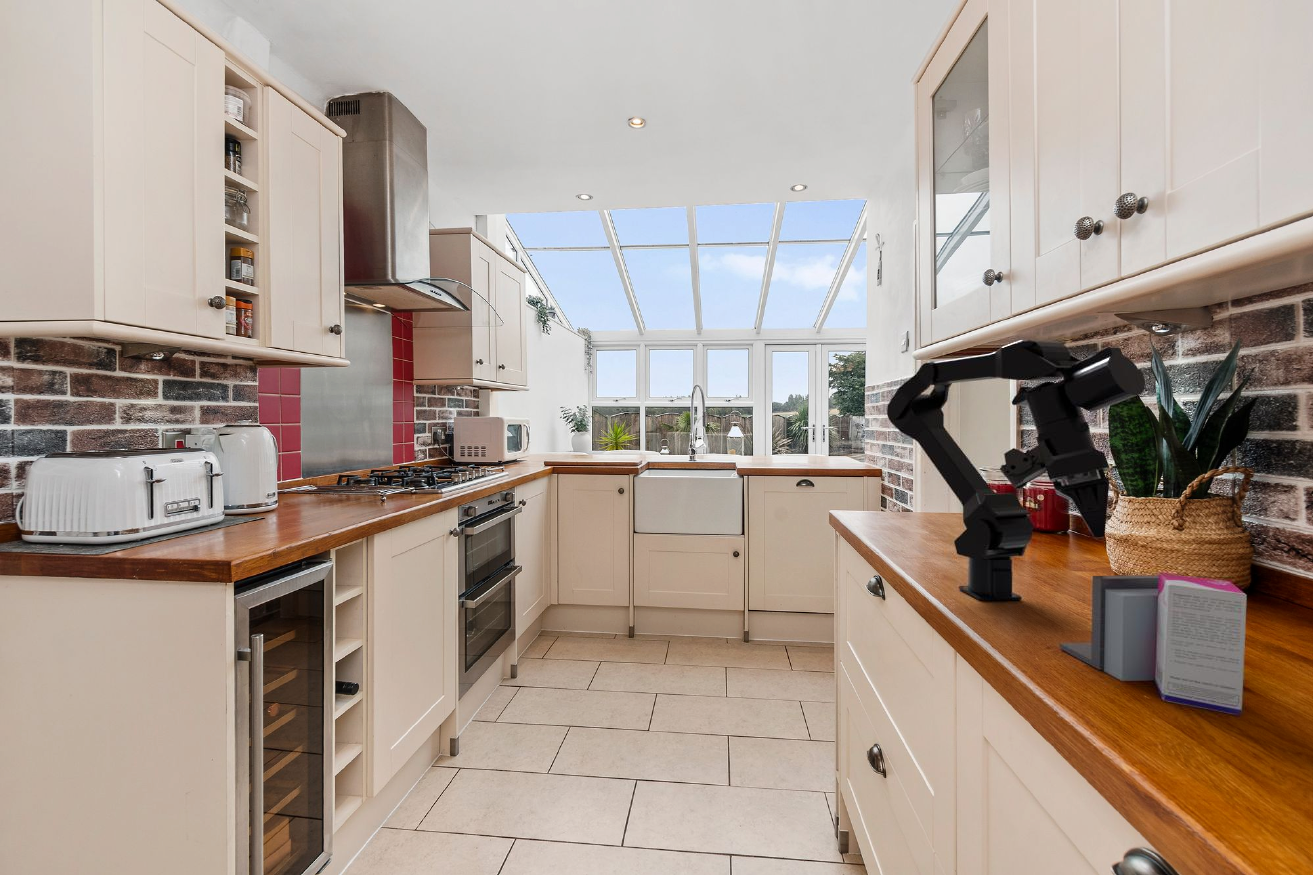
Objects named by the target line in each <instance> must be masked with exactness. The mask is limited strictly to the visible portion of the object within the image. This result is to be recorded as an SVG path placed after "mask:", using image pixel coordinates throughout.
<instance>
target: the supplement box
mask: <svg viewBox="0 0 1313 875" xmlns="http://www.w3.org/2000/svg"><path fill="white" fill-rule="evenodd" d="M1158 575H1159V581H1158V602H1157V626H1156V646H1155V671H1154V680H1153V681H1154V683H1155V685H1156V689H1157V690H1158V693H1159V695H1160V697H1161V699H1162V701H1164V702H1168V703H1174V704H1177V705H1178V704H1179V705H1184V706H1190V707H1195V708H1200V709H1204V710H1210V711H1215V712H1219V713H1225V714H1231V715H1236V716H1240V715H1242V709H1243V691H1244V668H1245V667H1244V666H1245V650H1246V649H1245V648H1246V647H1245V646H1246V644H1245V643H1246V621H1247V620H1246V618H1247V594H1246V593H1245V592H1244V591H1242V590H1241V589H1240V588H1239V587H1237V585H1235V584H1234V583H1233V582H1232V581H1229V580H1222V579H1214V578H1213V579H1212V578H1204V577H1196V576H1195V577H1194V576H1187V575H1181V574H1171V573H1163V572H1160V573H1159V574H1158Z"/></svg>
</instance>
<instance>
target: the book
mask: <svg viewBox="0 0 1313 875" xmlns="http://www.w3.org/2000/svg"><path fill="white" fill-rule="evenodd" d="M1157 602H1158V589H1105V646H1104V670H1103V672H1105V673H1107V674H1109V675H1110V676H1113V677H1114V678H1116V679H1118V680H1119V681H1121V682H1127V681H1128V682H1129V681H1131V682H1133V681H1138V682H1139V681H1154V671H1155V646H1156V626H1157Z"/></svg>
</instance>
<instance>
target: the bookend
mask: <svg viewBox="0 0 1313 875" xmlns="http://www.w3.org/2000/svg"><path fill="white" fill-rule="evenodd" d="M1158 581H1159V574H1144V575H1143V574H1142V575H1141V574H1140V575H1139V574H1138V575H1137V574H1135V575H1133V574H1129V575H1128V574H1127V575H1123V574H1122V575H1092V583H1091V584H1092V586H1091V587H1092V590H1091V592H1092V594H1091V595H1092V596H1091V597H1092V598H1091V600H1092V601H1091V602H1092V603H1091V604H1092V605H1091V642H1060V643H1059V645H1058V646H1059V649H1060V650H1062V651H1064V652H1065V653H1068V654H1070V656H1073V657H1075V658H1077V659H1079V660H1080V661H1082V662H1084V663H1086V664H1088V665H1089V666H1092V667H1093V668H1096V669H1097V670H1099V671H1104V646H1105V589H1158Z"/></svg>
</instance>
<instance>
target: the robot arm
mask: <svg viewBox="0 0 1313 875" xmlns="http://www.w3.org/2000/svg"><path fill="white" fill-rule="evenodd" d="M1062 378H1063V379H1062ZM993 379H1003V380H1011V381H1012V380H1013V381H1027V382H1028V381H1031V382H1032V381H1034V382H1036V381H1037V382H1042V383H1040V384H1038V385H1036V386H1020V387H1019V389H1018V391H1017V393H1016V394H1015V395H1014V397H1013V399H1012V401H1011V405H1012V406H1028V409H1029V412H1030V414H1031V417H1032V421H1033V423H1034V427H1035V430H1036V432H1037V436H1035V438H1036V441H1037V444H1038V445H1036V446H1035V447H1033V448H1031V449H1027V450H1025V452H1024V451H1021V450H1020V449H1017V448H1015V447H1014V448H1011V449H1009V450H1008V451H1006V452H1004V454H1003V456H1004V462H1005V464H1002V465H1000V468H999V471H1000V472H1001V473H1002V475H1003V476H1004V477H1005V478H1006V479H1007V480H1008V482H1009V483H1010V484H1011V485H1012V486H1013V488H1014V489H1015V490H1017V491H1018V490H1020V489H1023V488H1024V487H1026V486H1027V484H1028V483H1030V482H1031V481H1033V480H1035V479H1037V478H1038V477H1041V476H1042V475H1043V474H1046V473H1047V475H1048V479H1049V481H1050V482H1051V483H1052V485H1053V488H1054V490H1055V493H1056V495H1058V496H1060V497H1062V498H1064V499H1066V500H1068V501H1071V502H1072V503H1073V504H1074V506H1075V508H1076V509H1077V511H1078V513H1079V514H1080V516H1081V518H1082V519H1083V521H1084V522H1085V524H1086V526H1087V528H1088V530H1089V531H1090V533H1091V534H1092V536H1093V538H1094V539H1100V538H1101V539H1102V538H1105V537H1106V536H1105V535H1106V524H1107V513H1108V502H1109V492H1110V491H1109V488H1110V477H1109V476H1108V477H1107V475H1106V474H1105V472H1109V471H1110V469H1111V468H1110V465H1109V462H1108V459H1107V457H1106V454H1105V452H1103V451H1101V450H1100V449H1099V450H1098V449H1097V448H1096V445H1095V443H1094V442H1095V441H1094V439H1093V436H1092V434H1091V429H1090V426H1089V423H1088V421H1086V417H1085V415H1084V412H1083V410H1086V411H1088V412H1092V413H1093V412H1094V413H1095V412H1097V411H1099V410H1103V409H1105V408H1108V407H1111V406H1112V405H1116V404H1118V403H1121V402H1123V401H1126V400H1129V399H1131V398H1134V397H1137V396H1139V395H1141V394H1143V393H1144V390H1145V387H1146V380H1145V376H1144V373H1143V371H1142V370H1141V368H1140V369H1139V368H1138V366H1137V364H1135V363H1134V362H1133V360H1131V359H1130V358H1129V357H1128V356H1125V355H1124V354H1123V352H1122V349H1121V348H1120V347H1119V346H1118V347H1116V346H1106V347H1104V348H1102V349H1101V350H1099V351H1097V352H1096V353H1095V354H1093V355H1090V356H1088V357H1087V358H1085V359H1080V358H1079V357H1077V356H1075V355H1073V354H1071V352H1070V351H1069V348H1068V347H1067V346H1066V345H1065V344H1064V343H1063V342H1062V341H1057V340H1039V339H1020V340H1017V341H1014V342H1012V343H1010V344H1006V345H1004V346H1001V347H1000V348H999V349H997V350H996V351H994V352H991V353H985V354H981V355H972V356H965V357H960V358H952V359H946V360H940V361H927V362H925V363H922V365H921V366H920V367H919V369H918V370H917V371H916V373H915V374H914V375H913V376H912V377H911V378H909V379H907V381H906V382H905V381H904V383H903V384H901V385H900V386H899V387H898V389H897V390H896V391H895V393H894V395H893V396H892V398H891V399H890V401H889V403H888V405H887V407H886V415H887V418H888V420H889V422H890V423H891V424H892V425H893V426H894V427H895V428H896V429H897V431H899V432H900V433H902V434H904V435H905V436H907V437H909V438H910V439H913V440H914V441H916V443H918V445H919V446H920V447H921V449H922V450H923V451H924V453H925V454H926V455H927V457H928V459H930V462H931V464H933V466H934V467H935V469H936V470H937V472H938V473H939V474H940V475H941V477H942V478H943V480H944V481H945V483H946V484H947V485H948V486H949V488H950V489H951V491H952V493H953V494H954V495H955V496H956V498H957V499H958V501H959V502H960V503H961V505H962V520H963V524H964V526H965V528H966V529H965V530H964V531H963V532H962V533H960V535H959V536H958V537H957V538H956V539H954V541H953V542H954V546H955V551H956V554H957V555H959V556H962V557H966V558H968V579H967V580H968V581H967V582H968V585H959V586H958V589H959V590H960V591H962V592H964V593H966V594H968V595H970V596H972V597H973V598H975V599H977V600H980V601H1021V600H1022V599H1023V598H1022V595H1020V594H1018V593H1015V592H1013V576H1014V574H1013V572H1014V571H1013V559H1012V557H1023V556H1024V554H1025V552H1026V549H1027V546H1028V544H1029V543H1030V542H1031V541H1032V540H1031V539H1032V537H1033V529H1034V528H1035V526H1034V523H1033V521H1032V519H1031V518H1030V517H1029V516H1030V515H1031V512H1030V511H1029V510H1027V509H1026V508H1025V507H1024V506H1023V505H1022V504H1021V502H1020V500H1019V499H1018V497H1017V496H1016V495H1015V494H1014V493H1013V492H1007V493H1006V492H1005V493H997V492H995V491H994V490H993V489H992V487H990V485H989V483H988V482H987V481H986V480H985V478H984V477H983V476H982V475H981V473H980V472H979V471H978V469H976V467H975V466H974V464H973V463H972V462H971V460H970V458H968V456H967V455H966V454H965V453H964V451H963V449H961V448H960V446H959V445H958V444H957V442H956V441H955V440H954V438H953V437H952V436H951V435H950V433H949V432H948V431H947V429H946V428H945V426H944V424H945V414H944V412H943V407H944V406H945V404H946V403H947V401H948V397H949V391H950V390H949V389H950V388H951V386H952V385H953V384H957V383H966V382H973V381H983V380H993ZM1060 379H1061V380H1060ZM1058 380H1060V381H1058ZM1055 381H1057V382H1055ZM931 386H933V389H932V390H931V392H930V393H926V394H925V393H924V392H926V390H928V389H929V388H930V387H931Z"/></svg>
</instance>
